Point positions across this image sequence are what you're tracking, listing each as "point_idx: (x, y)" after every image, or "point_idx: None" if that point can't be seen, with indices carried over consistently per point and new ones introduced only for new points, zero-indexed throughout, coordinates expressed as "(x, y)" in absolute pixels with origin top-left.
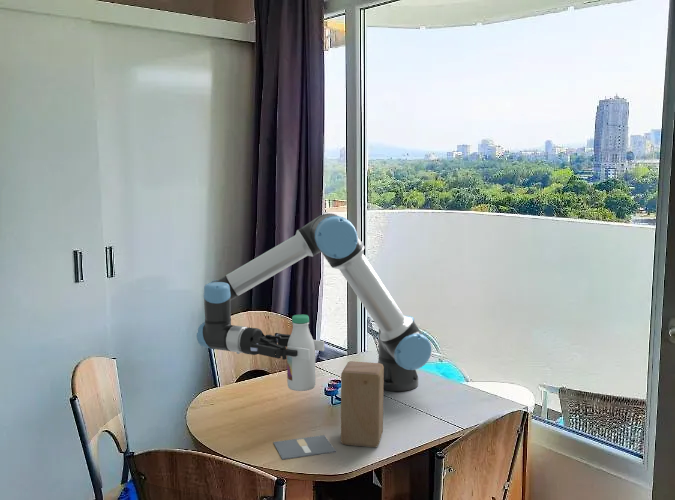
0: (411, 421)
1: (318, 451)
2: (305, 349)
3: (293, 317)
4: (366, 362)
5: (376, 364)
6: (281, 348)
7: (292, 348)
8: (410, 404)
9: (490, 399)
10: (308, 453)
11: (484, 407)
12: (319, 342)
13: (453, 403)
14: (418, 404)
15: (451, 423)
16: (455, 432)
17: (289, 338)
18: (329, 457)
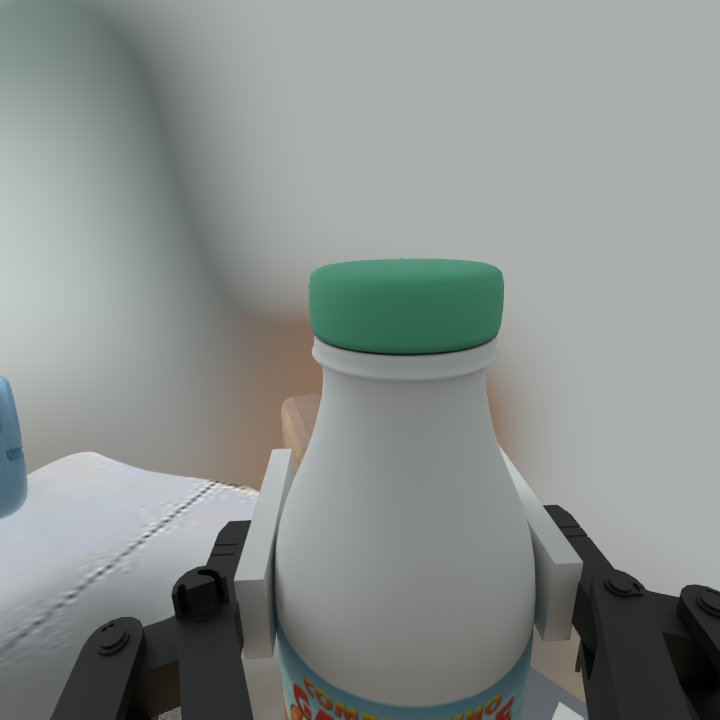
0: (192, 563)
1: (533, 683)
2: (503, 452)
3: (495, 272)
4: (302, 414)
5: (310, 397)
6: (649, 611)
7: (552, 527)
8: (43, 609)
9: (31, 485)
10: (573, 707)
11: (85, 483)
12: (288, 471)
13: (49, 528)
14: (46, 590)
15: (190, 501)
16: (238, 487)
17: (502, 540)
18: None
